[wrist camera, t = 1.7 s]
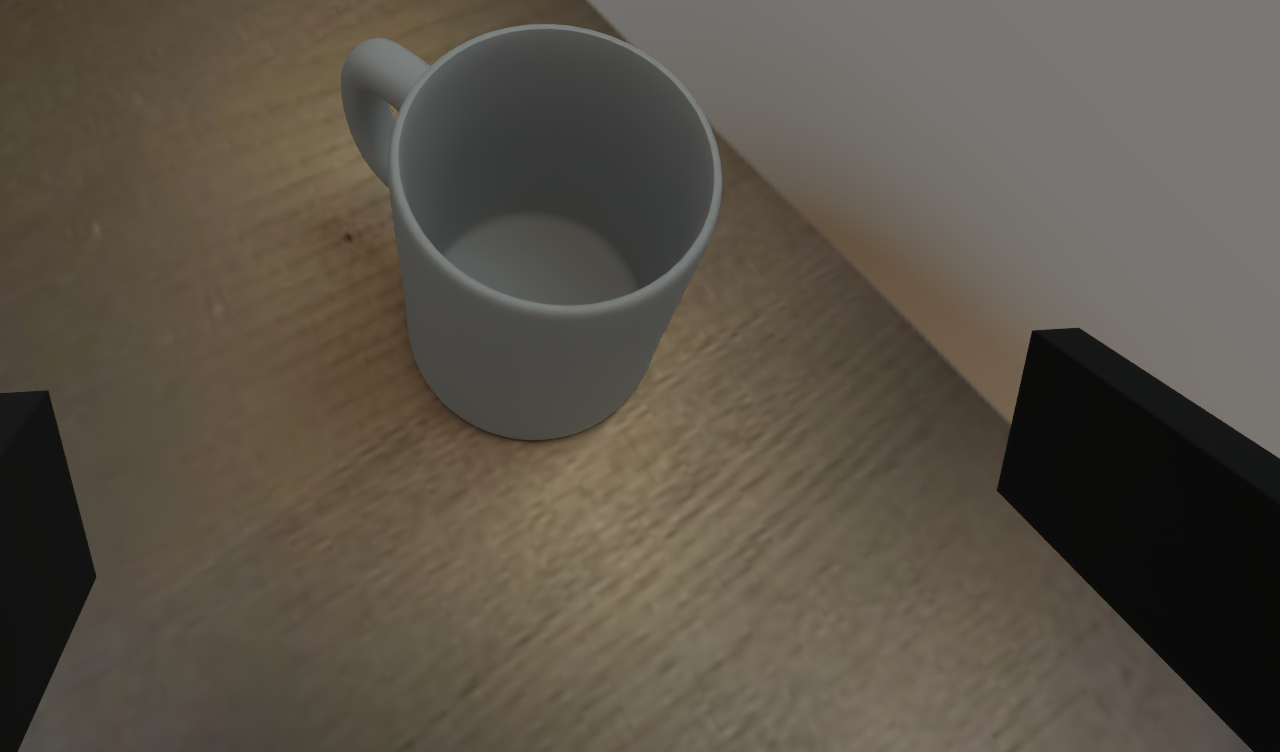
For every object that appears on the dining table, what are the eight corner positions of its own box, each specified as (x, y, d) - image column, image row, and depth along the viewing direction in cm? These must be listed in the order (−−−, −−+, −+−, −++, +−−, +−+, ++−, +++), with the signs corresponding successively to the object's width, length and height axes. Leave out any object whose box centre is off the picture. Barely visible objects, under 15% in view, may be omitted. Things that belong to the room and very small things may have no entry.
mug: (699, 321, 36) (792, 160, 26) (544, 494, 33) (579, 390, 23) (452, 117, 37) (447, -115, 27) (280, 267, 34) (200, 70, 24)
